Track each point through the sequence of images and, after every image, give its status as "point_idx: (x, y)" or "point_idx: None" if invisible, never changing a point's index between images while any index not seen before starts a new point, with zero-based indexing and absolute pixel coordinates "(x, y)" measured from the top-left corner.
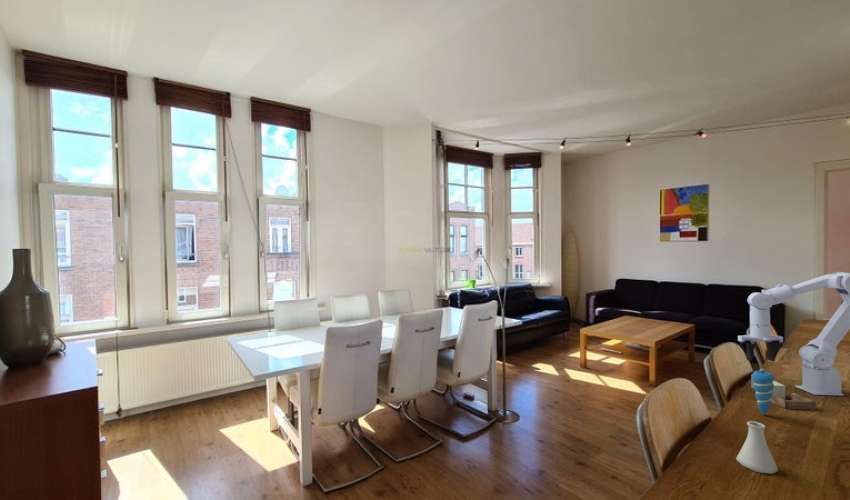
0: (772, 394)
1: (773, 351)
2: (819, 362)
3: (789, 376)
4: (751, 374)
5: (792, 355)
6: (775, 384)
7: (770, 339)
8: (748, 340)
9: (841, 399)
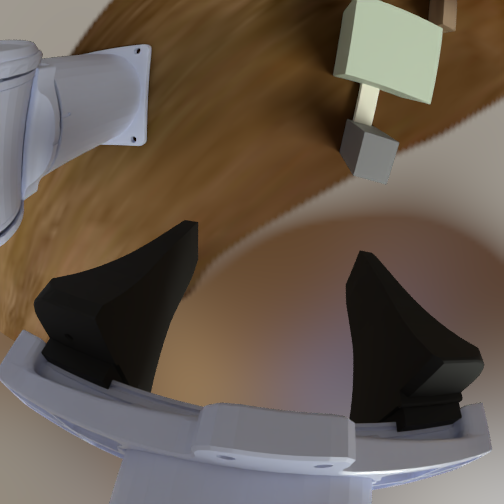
0: (446, 6)
1: (159, 274)
2: (8, 48)
3: (91, 253)
4: (385, 182)
5: None
6: (397, 23)
7: (235, 431)
8: (412, 430)
9: (97, 19)
